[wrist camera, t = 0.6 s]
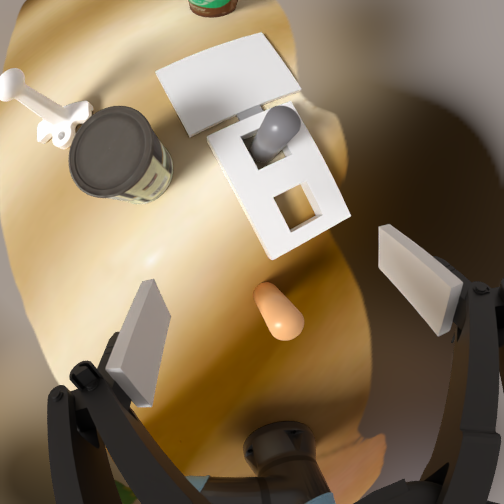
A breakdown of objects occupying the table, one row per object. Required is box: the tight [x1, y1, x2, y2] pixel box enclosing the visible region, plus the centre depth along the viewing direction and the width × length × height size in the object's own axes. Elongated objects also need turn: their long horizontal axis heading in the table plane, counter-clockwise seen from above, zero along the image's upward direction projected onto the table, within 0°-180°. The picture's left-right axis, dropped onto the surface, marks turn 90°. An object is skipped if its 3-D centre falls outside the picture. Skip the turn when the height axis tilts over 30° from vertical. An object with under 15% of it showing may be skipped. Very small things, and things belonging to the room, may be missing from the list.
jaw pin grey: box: [250, 106, 301, 163], centre depth 33 cm, size 4×4×13 cm
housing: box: [207, 101, 351, 260], centre depth 39 cm, size 20×14×3 cm
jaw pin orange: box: [253, 282, 304, 340], centre depth 36 cm, size 4×4×13 cm
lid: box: [155, 32, 301, 137], centre depth 37 cm, size 16×20×1 cm
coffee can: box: [69, 106, 173, 204], centre depth 31 cm, size 10×10×14 cm
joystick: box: [0, 68, 93, 149], centre depth 25 cm, size 11×8×20 cm
